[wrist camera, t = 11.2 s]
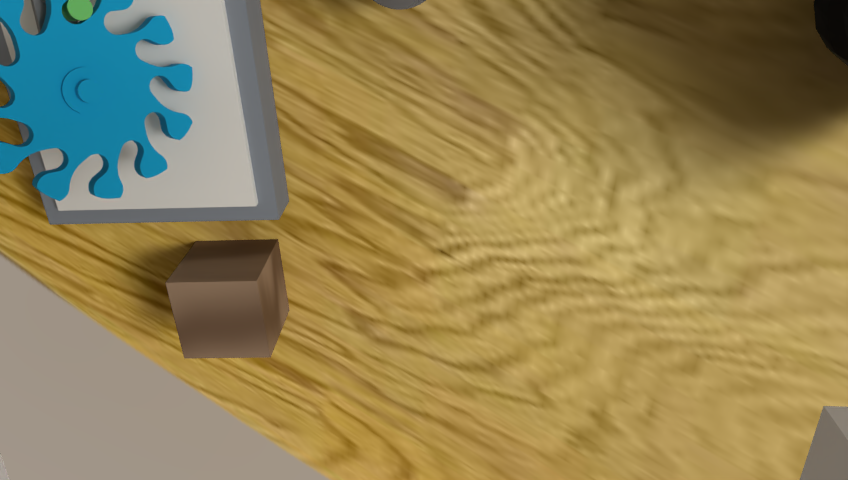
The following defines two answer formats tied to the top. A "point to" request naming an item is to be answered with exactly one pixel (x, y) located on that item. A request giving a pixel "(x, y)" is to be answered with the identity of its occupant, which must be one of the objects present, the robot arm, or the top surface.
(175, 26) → the stand
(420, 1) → the steel cylinder
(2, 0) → the gear
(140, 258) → the top surface
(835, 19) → the car wheel rim
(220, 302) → the walnut block
